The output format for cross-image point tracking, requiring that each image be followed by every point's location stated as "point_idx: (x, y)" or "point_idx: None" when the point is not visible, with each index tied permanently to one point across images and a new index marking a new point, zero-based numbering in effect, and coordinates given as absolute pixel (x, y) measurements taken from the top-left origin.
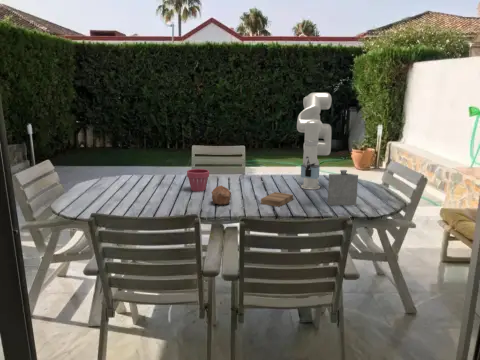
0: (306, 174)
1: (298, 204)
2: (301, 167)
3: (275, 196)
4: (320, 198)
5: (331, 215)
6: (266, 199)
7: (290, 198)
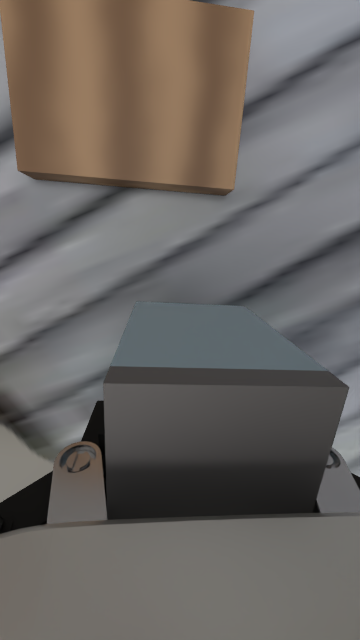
0: (97, 406)
1: (142, 262)
2: (115, 363)
3: (126, 76)
4: (301, 324)
5: (60, 441)
6: (4, 35)
7: (189, 189)
